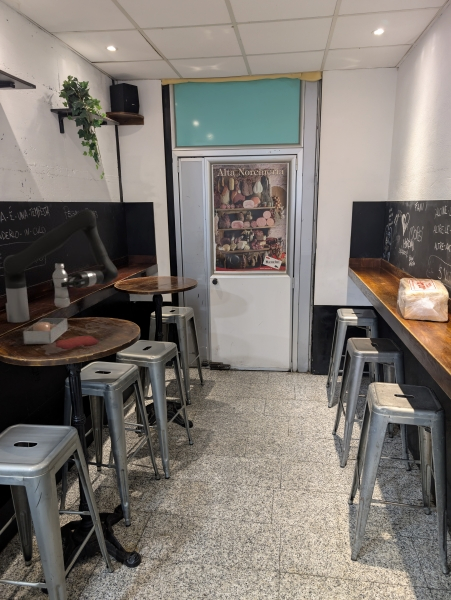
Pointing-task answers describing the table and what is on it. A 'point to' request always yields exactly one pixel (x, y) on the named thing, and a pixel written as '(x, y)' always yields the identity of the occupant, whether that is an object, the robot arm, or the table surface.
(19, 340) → the table surface
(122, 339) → the table surface
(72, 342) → the red cloth
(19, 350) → the table surface
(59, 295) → the plastic bottle
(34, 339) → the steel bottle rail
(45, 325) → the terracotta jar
